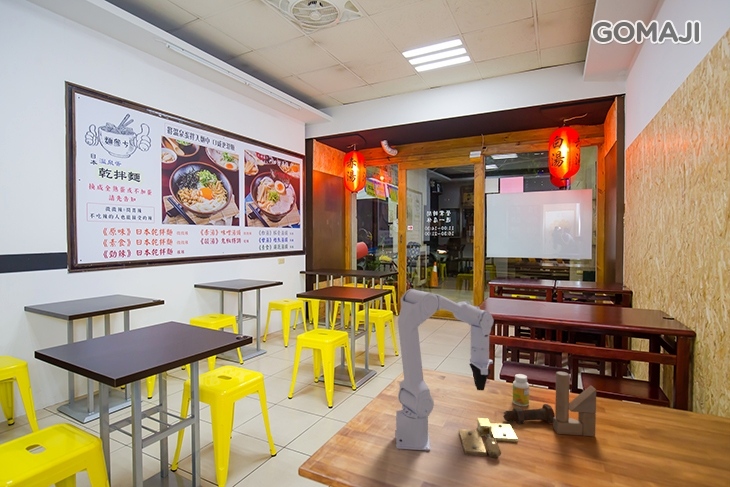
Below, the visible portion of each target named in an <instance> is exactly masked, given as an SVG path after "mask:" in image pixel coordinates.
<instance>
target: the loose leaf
mask: <svg viewBox="0 0 730 487" xmlns="http://www.w3.org/2000/svg"><path fill="white" fill-rule="evenodd" d="M476 421H477V430H479V433H480V436H481V437H486V434H489V435H490V437H491V438H493V439H495V440H496V442H497V441H500V442H516V443H518V442H519V441H518V440H519V439H518V437H517V435H516V433H515V431H514V429H513V428H512V425H511V424H510V423H496V422H495V423H491V422H490V420H489V418H484V417H477V420H476Z"/></svg>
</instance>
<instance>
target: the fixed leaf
mask: <svg viewBox="0 0 730 487" xmlns="http://www.w3.org/2000/svg"><path fill="white" fill-rule="evenodd" d="M458 434H459V437H460V441H461V445H462V448H463V453H464V455H468V456H481V457H482V456H485V457H486V456H487V455H489V456H490V457H491V458H493V459H497V458H499V457H500V456H501V453H502V452H501V449H500V446H499V444H498V442H497V441H496V440H495V439H493V437H490V435H489V434H486V436H485V437H486V440H485V441H483V438H482V436H480V433H479V430H478V429H477V430H476V429H465V428H464V429H460V428H459V429H458ZM484 442H485V443H484ZM487 453H488V454H487Z"/></svg>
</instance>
